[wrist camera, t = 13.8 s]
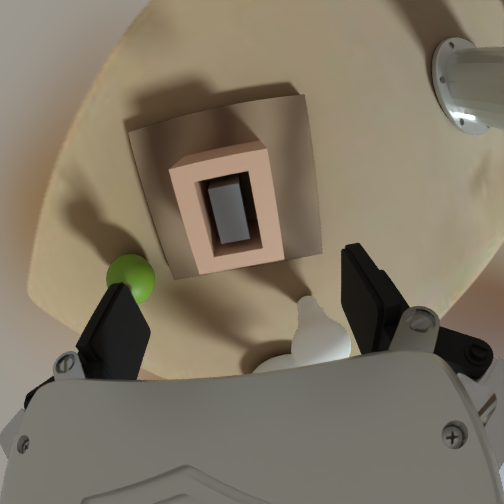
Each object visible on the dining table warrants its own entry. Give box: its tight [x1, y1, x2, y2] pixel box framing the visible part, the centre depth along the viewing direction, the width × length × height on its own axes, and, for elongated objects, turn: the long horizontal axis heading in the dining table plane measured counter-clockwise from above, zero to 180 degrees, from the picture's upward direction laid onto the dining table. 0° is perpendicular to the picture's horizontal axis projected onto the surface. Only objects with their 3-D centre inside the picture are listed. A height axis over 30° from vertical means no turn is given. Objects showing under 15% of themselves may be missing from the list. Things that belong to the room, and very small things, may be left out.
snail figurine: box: [106, 254, 155, 304], centre depth 24 cm, size 5×6×12 cm
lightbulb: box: [291, 296, 351, 367], centre depth 28 cm, size 6×6×11 cm
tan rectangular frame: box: [169, 140, 284, 274], centre depth 22 cm, size 7×9×6 cm
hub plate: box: [128, 94, 323, 280], centre depth 23 cm, size 16×16×7 cm
